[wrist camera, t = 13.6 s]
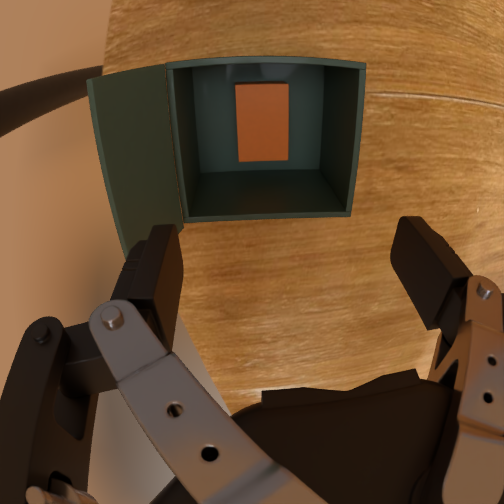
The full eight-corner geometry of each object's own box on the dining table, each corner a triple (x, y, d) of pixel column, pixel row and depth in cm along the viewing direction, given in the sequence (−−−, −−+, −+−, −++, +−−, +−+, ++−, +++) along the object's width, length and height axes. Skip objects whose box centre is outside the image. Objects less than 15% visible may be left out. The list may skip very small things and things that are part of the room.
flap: (184, 227, 23) (179, 227, 23) (164, 63, 16) (159, 64, 16) (137, 282, 18) (132, 281, 18) (91, 78, 11) (86, 80, 11)
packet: (238, 151, 29) (238, 162, 27) (235, 82, 25) (235, 84, 23) (283, 150, 29) (288, 160, 27) (283, 80, 25) (288, 83, 23)
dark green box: (196, 175, 31) (183, 223, 23) (187, 60, 24) (164, 62, 16) (322, 171, 31) (350, 217, 24) (328, 58, 24) (366, 62, 17)
